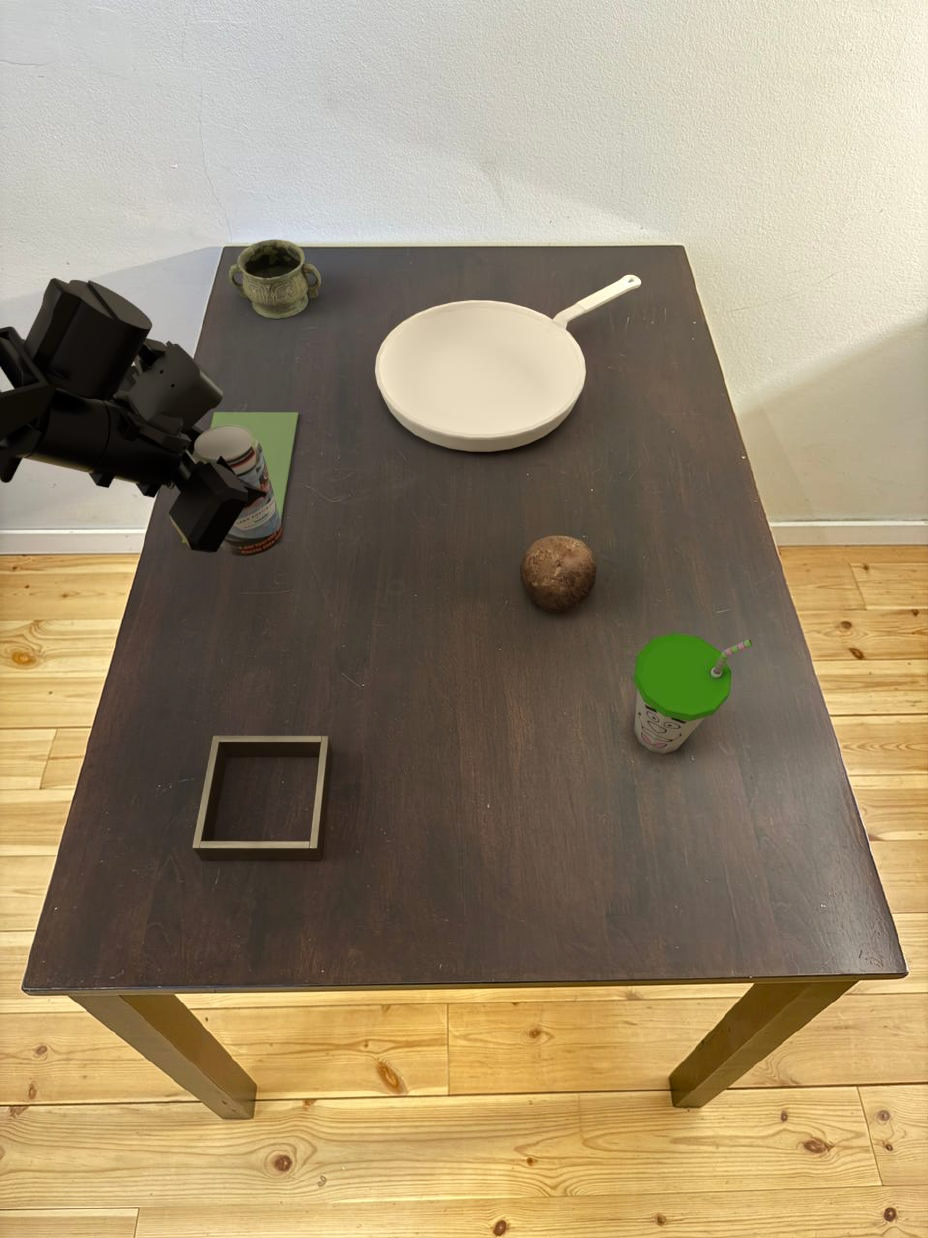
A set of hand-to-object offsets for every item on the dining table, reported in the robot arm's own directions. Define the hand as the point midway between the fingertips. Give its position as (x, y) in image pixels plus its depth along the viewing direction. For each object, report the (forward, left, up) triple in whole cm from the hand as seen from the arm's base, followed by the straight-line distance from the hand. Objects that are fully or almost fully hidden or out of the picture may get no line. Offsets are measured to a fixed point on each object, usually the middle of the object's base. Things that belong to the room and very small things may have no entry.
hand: (247, 476), depth 77 cm
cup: (+37, -19, -13) cm, 44 cm away
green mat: (-5, +13, -13) cm, 19 cm away
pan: (+27, +32, -13) cm, 44 cm away
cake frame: (+3, -26, -13) cm, 29 cm away
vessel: (-5, +45, -13) cm, 47 cm away
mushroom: (+29, -3, -13) cm, 32 cm away
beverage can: (-1, -1, -7) cm, 7 cm away
